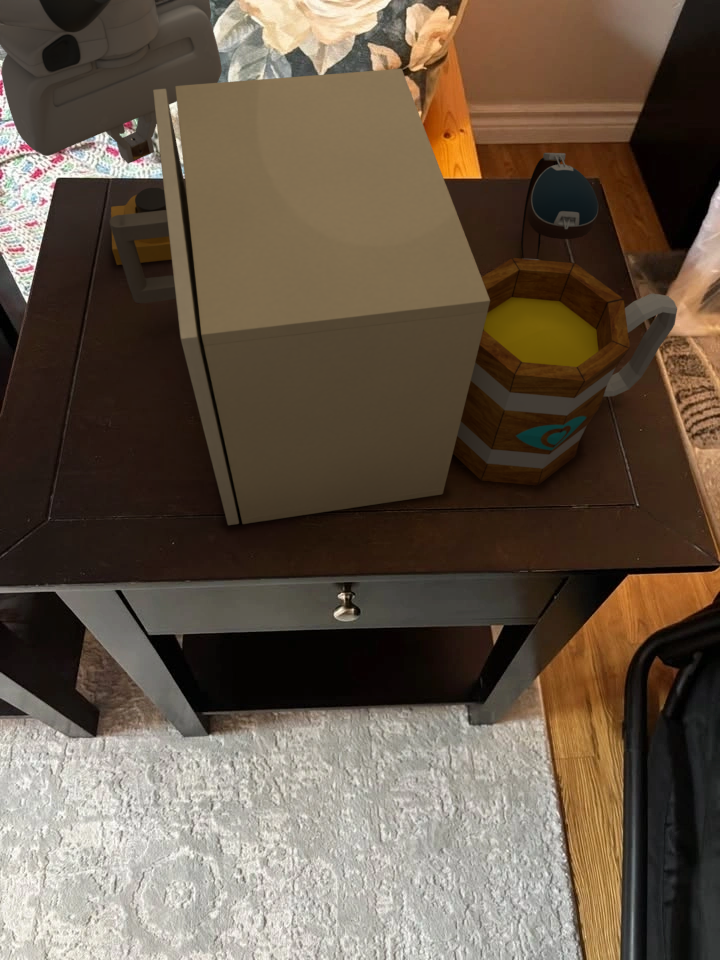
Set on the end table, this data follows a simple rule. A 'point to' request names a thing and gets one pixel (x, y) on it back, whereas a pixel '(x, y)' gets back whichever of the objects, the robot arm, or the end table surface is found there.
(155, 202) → the button
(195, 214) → the cupboard
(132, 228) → the door
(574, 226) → the headphones
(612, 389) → the mug
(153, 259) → the switch box
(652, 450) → the end table surface
